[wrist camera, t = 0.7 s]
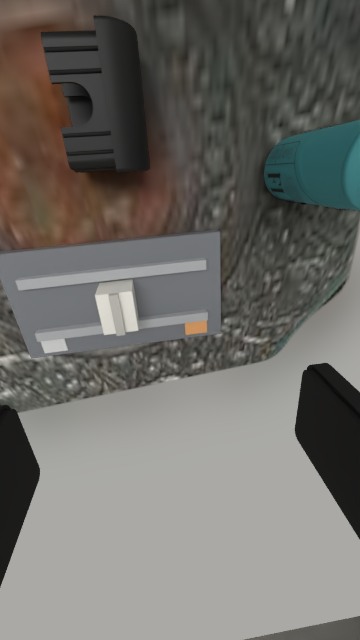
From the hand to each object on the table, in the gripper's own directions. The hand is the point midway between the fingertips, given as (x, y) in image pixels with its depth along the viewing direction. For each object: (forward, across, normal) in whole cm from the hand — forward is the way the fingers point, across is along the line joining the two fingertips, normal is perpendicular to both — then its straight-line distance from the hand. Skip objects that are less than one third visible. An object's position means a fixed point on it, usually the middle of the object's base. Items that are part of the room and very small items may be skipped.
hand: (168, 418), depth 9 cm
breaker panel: (+28, +4, +5) cm, 29 cm away
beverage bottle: (+28, -16, -8) cm, 34 cm away
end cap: (+28, +3, -14) cm, 31 cm away
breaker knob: (+27, +4, +5) cm, 28 cm away
